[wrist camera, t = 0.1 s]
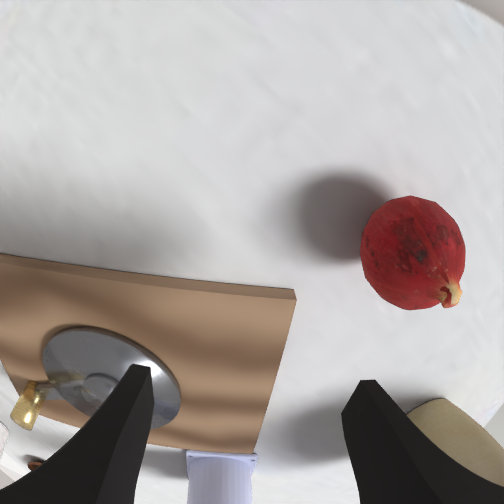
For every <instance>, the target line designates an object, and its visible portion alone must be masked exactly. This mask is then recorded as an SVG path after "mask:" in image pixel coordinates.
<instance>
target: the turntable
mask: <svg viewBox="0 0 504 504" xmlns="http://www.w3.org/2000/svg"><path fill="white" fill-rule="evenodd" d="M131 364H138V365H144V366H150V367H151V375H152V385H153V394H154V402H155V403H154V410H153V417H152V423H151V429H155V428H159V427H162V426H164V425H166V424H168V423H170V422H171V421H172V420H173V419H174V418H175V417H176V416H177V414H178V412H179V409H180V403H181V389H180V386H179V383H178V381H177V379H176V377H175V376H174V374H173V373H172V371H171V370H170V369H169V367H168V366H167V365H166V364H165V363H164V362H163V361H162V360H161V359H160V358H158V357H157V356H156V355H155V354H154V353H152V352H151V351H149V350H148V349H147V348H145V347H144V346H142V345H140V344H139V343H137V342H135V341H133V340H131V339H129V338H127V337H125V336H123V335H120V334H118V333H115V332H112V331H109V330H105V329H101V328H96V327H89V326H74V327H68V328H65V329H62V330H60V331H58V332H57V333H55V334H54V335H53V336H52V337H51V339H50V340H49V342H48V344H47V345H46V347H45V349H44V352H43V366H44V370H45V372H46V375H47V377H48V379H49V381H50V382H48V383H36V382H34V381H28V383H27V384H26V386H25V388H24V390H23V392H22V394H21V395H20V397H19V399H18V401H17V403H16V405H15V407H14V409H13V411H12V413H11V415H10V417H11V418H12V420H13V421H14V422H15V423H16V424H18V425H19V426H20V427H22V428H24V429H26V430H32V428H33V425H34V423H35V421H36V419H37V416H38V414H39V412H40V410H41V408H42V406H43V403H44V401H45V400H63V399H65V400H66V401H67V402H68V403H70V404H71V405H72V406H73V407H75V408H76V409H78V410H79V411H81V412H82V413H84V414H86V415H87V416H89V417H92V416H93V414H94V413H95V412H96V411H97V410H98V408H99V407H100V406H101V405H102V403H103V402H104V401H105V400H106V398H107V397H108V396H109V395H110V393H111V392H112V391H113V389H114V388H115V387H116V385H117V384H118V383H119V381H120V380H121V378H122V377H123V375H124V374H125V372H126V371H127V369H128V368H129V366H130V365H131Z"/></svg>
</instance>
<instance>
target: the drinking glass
mask: <svg viewBox="0 0 504 504" xmlns="http://www.w3.org/2000/svg"><path fill="white" fill-rule="evenodd" d="M8 437H9V431H8V429H7V428H6V427H5V426H4V425H3V424H2V423H1V422H0V460H1V457H2V454H3V450H4V447H5V444H6V442H7V440H8Z"/></svg>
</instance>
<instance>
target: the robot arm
mask: <svg viewBox="0 0 504 504" xmlns="http://www.w3.org/2000/svg"><path fill="white" fill-rule="evenodd" d="M154 403H155V402H154V394H153V385H152V375H151V367H150V366H144V365H138V364H131V365H130V366H129V368H128V369H127V371H126V372H125V374H124V375H123V377H122V378H121V380H120V381H119V383H118V384H117V385H116V387H115V388H114V389H113V391H112V392H111V393H110V395H109V396H108V397H107V398H106V400H105V401H104V402H103V403H102V405H101V406H100V407H99V408H98V410H97V411H96V412H95V413H94V414H93V416H92V417H91V418H90V419H89V420H88V421H87V422H86V423H85V424H84V426H83V427H82V428H81V429H80V430H79V431H78V432H77V433H76V434H75V435H74V436H73V437H72V438H71V439H70V440H69V441H68V442H67V443H66V444H65V445H64V446H63V447H61V448H60V449H59V450H58V451H57V452H56V453H54V454H53V455H52V456H51V457H50V458H48V459H47V460H46V461H45V462H43V463H42V464H41V465H40V466H38V467H37V468H35V469H34V470H32V471H31V472H29V473H28V474H26V475H25V476H23V477H22V478H20V479H19V480H17V481H16V482H14V483H12V484H10V485H9V486H7V487H5V488H3V489H1V490H0V504H134V496H135V489H136V484H137V479H138V475H139V471H140V467H141V463H142V459H143V455H144V452H145V448H146V444H147V440H148V437H149V433H150V429H151V423H152V417H153V410H154ZM341 415H342V424H343V431H344V438H345V441H346V445H347V449H348V453H349V456H350V460H351V464H352V467H353V471H354V475H355V478H356V482H357V486H358V491H359V497H360V504H504V487H503V486H500V485H498V484H495V483H493V482H491V481H488V480H486V479H485V478H483V477H481V476H479V475H477V474H475V473H473V472H472V471H470V470H468V469H467V468H465V467H464V466H462V465H461V464H459V463H458V462H456V461H455V460H454V459H452V458H451V457H450V456H448V455H447V454H446V453H445V452H444V451H442V450H441V449H440V448H439V447H438V446H436V445H435V444H434V443H433V442H432V441H431V440H430V439H429V438H428V437H427V436H426V435H425V434H424V433H423V432H422V431H421V430H420V429H419V428H418V427H417V426H416V425H415V424H414V423H413V422H412V421H411V420H410V419H409V418H408V416H407V415H406V414H405V413H404V412H403V411H402V410H401V409H400V408H399V406H398V405H397V404H396V403H395V402H394V401H393V400H392V398H391V397H390V396H389V395H388V394H387V393H386V391H385V390H384V389H383V388H382V387H381V386H380V385H379V384H378V383H377V381H376V380H360V382H359V384H358V385H357V387H356V389H355V391H354V393H353V394H352V396H351V398H350V399H349V401H348V403H347V405H346V406H345V408H344V410H343V411H342V413H341ZM257 460H258V455H256V454H233V453H217V452H205V451H194V450H187V451H186V462H187V474H188V480H189V486H188V500H187V504H252V485H251V476H252V473H253V471H254V468H255V466H256V463H257Z"/></svg>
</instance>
